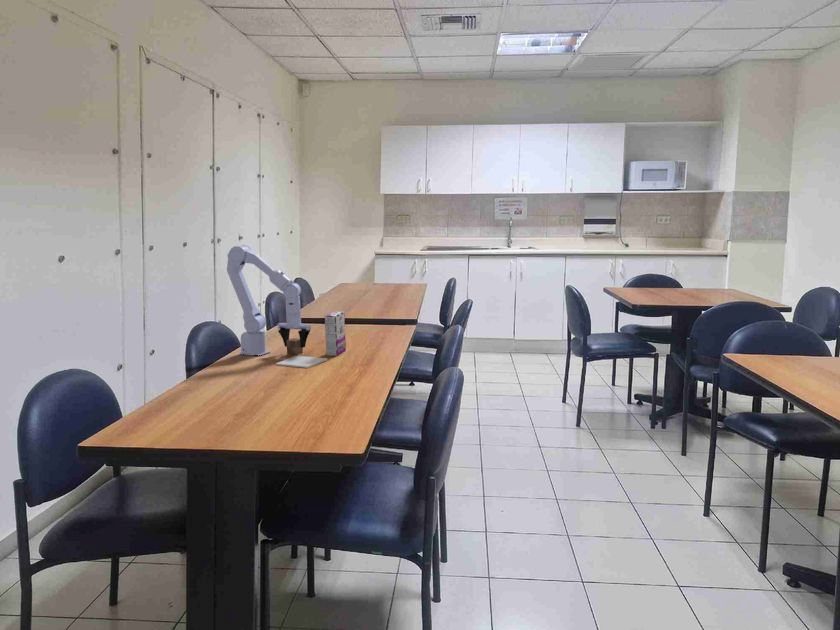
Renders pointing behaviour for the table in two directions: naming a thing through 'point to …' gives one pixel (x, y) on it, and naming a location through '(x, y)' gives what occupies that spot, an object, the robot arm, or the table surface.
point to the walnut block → (294, 347)
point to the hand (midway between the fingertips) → (294, 346)
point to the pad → (301, 361)
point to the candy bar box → (335, 333)
